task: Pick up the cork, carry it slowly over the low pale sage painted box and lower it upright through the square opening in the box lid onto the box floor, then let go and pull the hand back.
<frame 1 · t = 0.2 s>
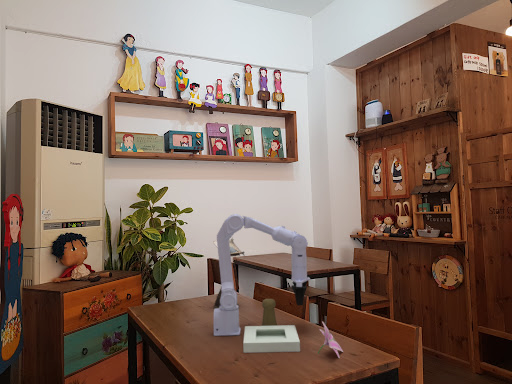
hand: (300, 302, 145), 10 cm above the table, tool pointing down, fingers open, 7 cm apart
slot box: (270, 342, 131), on the table
cork: (269, 328, 147), on the table
lily: (330, 355, 119), on the table
bird statue: (230, 309, 178), on the table
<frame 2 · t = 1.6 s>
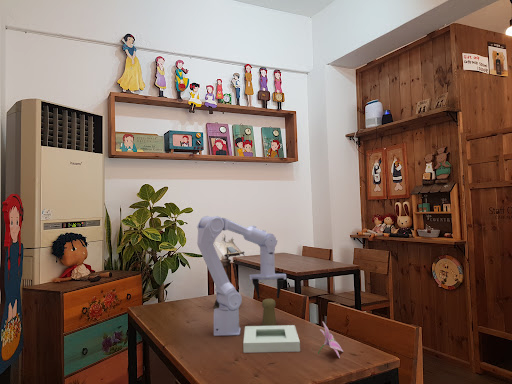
hand: (268, 298, 152), 10 cm above the table, tool pointing down, fingers open, 7 cm apart
nothing on the table moved.
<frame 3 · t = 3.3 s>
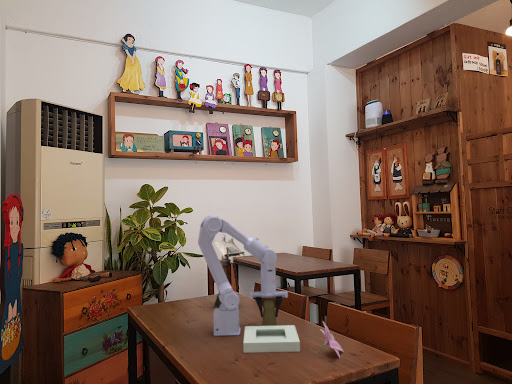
hand: (269, 316, 147), 4 cm above the table, tool pointing down, fingers closed on cork, 5 cm apart
cork: (269, 328, 147), on the table, touching gripper
everything else where it was.
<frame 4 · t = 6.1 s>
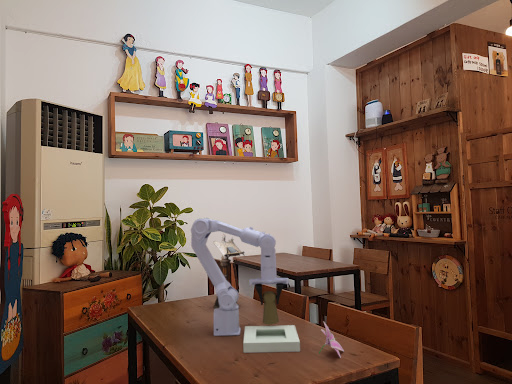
hand: (269, 304, 142), 10 cm above the table, tool pointing down, fingers closed on cork, 5 cm apart
cork: (270, 322, 142), point 4 cm above the table, touching gripper
everything else where it was.
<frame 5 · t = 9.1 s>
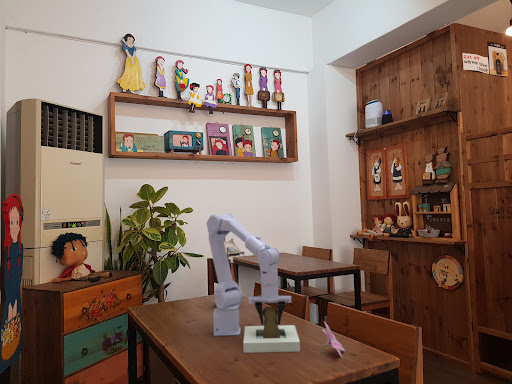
hand: (270, 324, 131), 6 cm above the table, tool pointing down, fingers closed on cork, 5 cm apart
cork: (271, 340, 132), resting on slot box, touching gripper
everything else where it was.
when the fingers open (6 cm above the table, at t = 9.7 s): cork stays where it is, resting on slot box.
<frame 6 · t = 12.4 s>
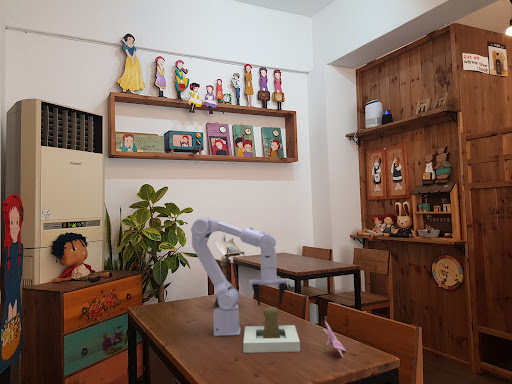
hand: (269, 304, 141), 10 cm above the table, tool pointing down, fingers open, 7 cm apart
cork: (271, 340, 132), resting on slot box
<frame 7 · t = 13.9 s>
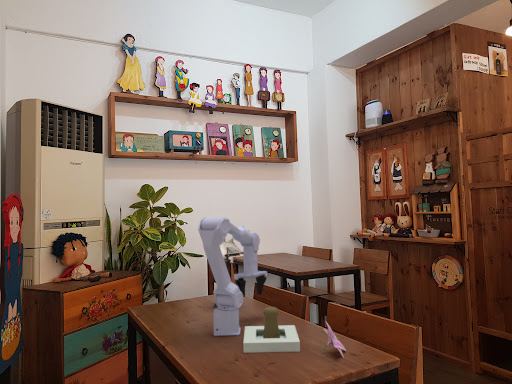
hand: (251, 295, 157), 10 cm above the table, tool pointing down, fingers open, 7 cm apart
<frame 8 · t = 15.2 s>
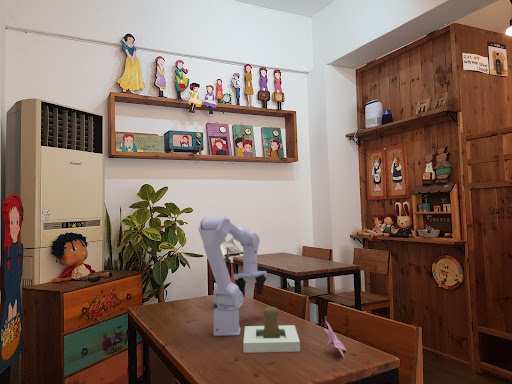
hand: (251, 295, 157), 10 cm above the table, tool pointing down, fingers open, 7 cm apart
at the end: cork inside the target area on the slot box (1.1 cm from its centre), point 0.3 cm above the slot box's base; cork tilted 0°; the gripper is holding nothing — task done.
